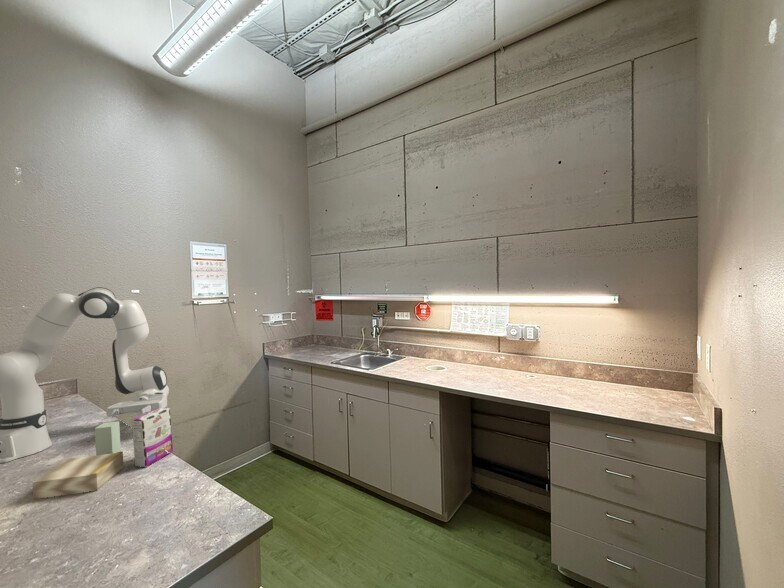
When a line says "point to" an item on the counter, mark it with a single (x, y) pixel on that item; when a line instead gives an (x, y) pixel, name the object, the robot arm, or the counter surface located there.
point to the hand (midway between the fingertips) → (127, 413)
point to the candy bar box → (152, 436)
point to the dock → (78, 475)
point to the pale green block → (107, 438)
